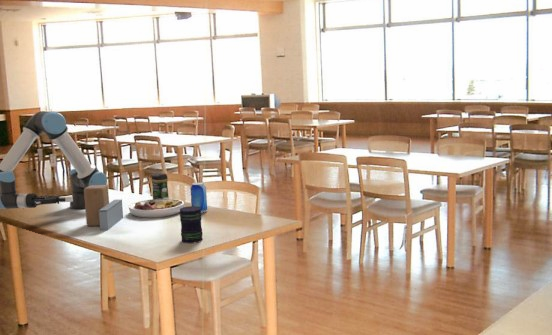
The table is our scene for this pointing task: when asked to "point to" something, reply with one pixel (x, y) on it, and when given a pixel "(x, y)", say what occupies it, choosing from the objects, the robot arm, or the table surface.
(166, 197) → the coffee jar
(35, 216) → the table surface
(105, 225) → the beam
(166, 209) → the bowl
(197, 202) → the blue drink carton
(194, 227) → the storage jar
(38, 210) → the table surface
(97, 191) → the wooden block
